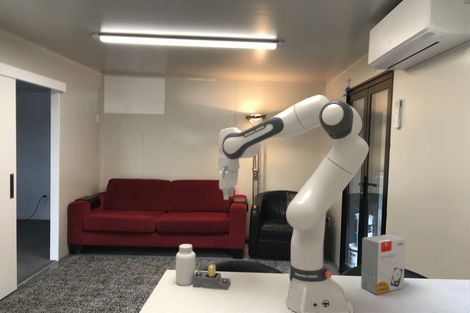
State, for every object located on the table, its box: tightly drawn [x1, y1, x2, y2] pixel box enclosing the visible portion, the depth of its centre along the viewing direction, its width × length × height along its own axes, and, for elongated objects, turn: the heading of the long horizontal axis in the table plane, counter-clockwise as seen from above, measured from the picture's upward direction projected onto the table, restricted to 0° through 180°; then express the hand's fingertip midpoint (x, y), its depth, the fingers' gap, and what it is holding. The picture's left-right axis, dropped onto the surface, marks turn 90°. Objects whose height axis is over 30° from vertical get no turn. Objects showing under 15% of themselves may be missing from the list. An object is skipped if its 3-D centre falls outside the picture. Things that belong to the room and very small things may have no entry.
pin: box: [207, 263, 216, 278], centre depth 126 cm, size 3×3×8 cm
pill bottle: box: [175, 243, 196, 286], centre depth 129 cm, size 8×8×15 cm
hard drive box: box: [360, 233, 406, 295], centre depth 123 cm, size 16×8×20 cm, turn 114°
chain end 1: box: [192, 270, 222, 288], centre depth 126 cm, size 10×6×5 cm, turn 79°
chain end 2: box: [202, 277, 231, 291], centre depth 125 cm, size 10×6×3 cm, turn 79°
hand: (228, 197), depth 133 cm, fingers open, 8 cm apart
